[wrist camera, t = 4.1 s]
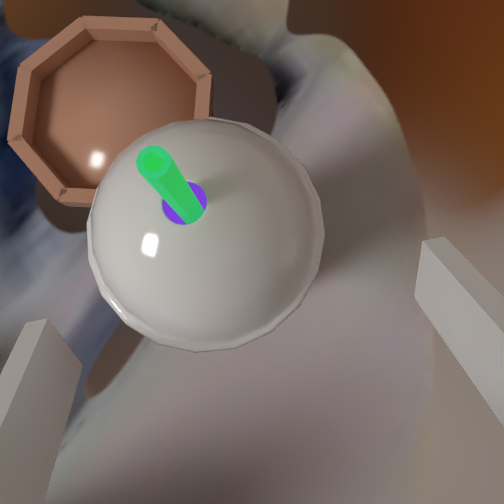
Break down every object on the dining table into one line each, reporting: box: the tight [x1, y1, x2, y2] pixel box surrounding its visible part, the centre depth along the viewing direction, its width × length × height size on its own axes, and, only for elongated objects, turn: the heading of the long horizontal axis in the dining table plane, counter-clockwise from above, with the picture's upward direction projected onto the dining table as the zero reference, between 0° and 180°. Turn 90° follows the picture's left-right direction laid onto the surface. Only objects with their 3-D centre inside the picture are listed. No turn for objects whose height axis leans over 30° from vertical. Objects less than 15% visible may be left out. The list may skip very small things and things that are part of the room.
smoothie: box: [87, 117, 325, 353], centre depth 17 cm, size 8×8×20 cm
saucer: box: [7, 16, 214, 208], centre depth 27 cm, size 14×14×2 cm
